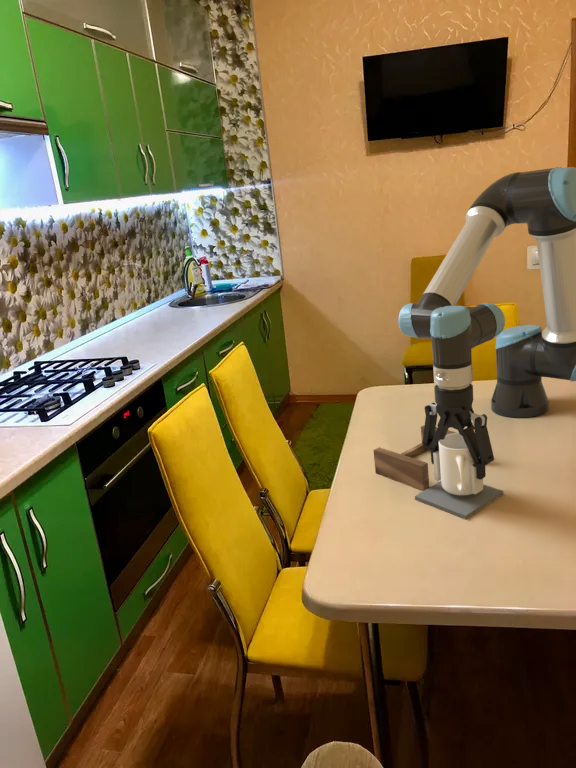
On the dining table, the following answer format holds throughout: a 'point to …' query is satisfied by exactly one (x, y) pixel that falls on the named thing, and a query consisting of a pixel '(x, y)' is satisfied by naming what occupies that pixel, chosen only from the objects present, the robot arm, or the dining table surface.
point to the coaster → (458, 500)
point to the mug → (455, 465)
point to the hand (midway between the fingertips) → (458, 484)
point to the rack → (404, 465)
